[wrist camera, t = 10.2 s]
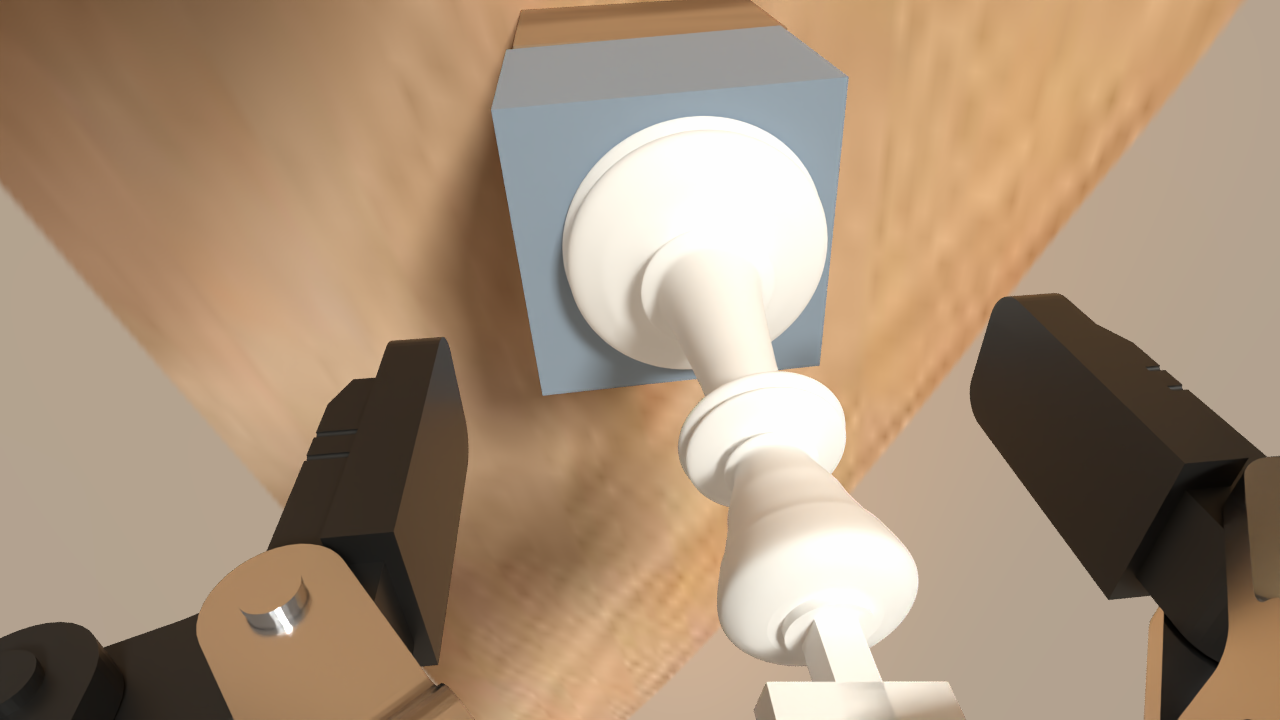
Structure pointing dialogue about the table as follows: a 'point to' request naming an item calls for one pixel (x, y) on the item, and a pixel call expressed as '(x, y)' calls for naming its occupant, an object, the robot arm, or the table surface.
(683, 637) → the table surface
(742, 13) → the walnut block
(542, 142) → the slate-blue block
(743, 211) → the chess piece
